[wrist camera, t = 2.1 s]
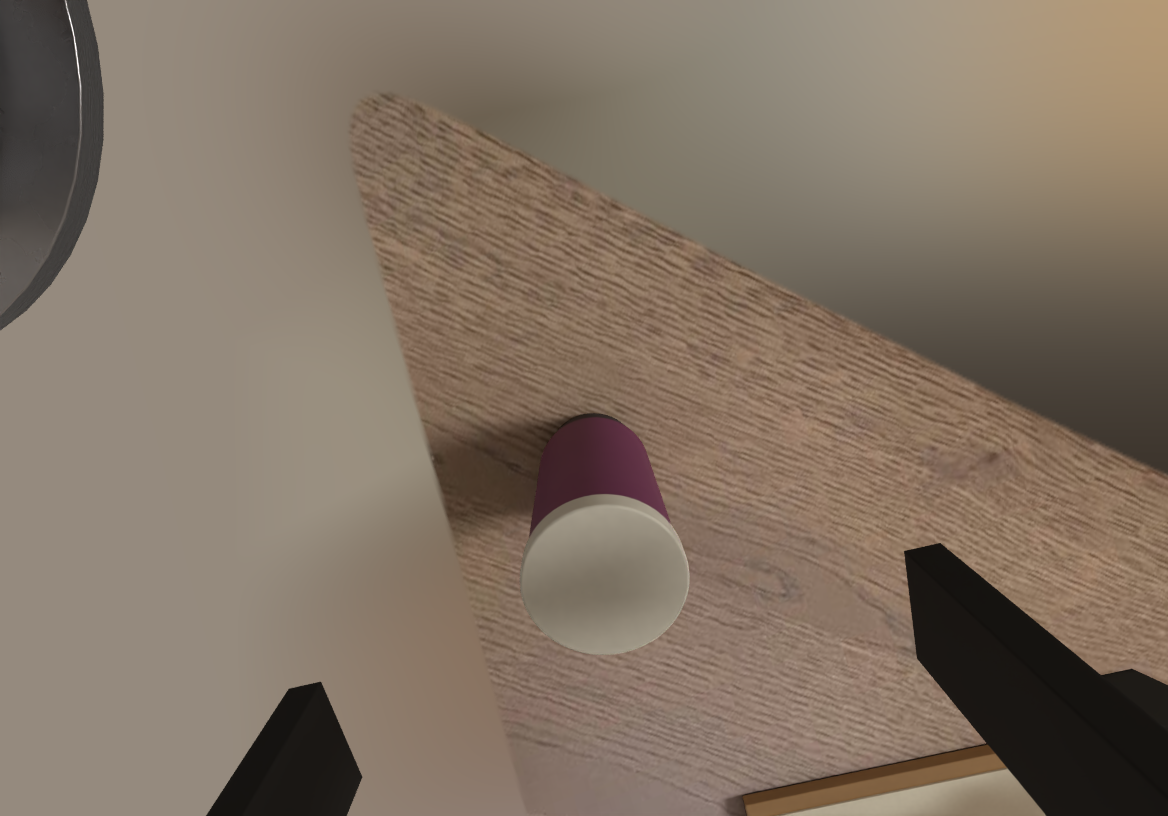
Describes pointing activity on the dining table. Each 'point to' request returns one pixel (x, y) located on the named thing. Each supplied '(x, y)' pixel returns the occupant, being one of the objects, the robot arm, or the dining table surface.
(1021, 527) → the dining table surface
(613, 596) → the cylinder
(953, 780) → the sketch board
